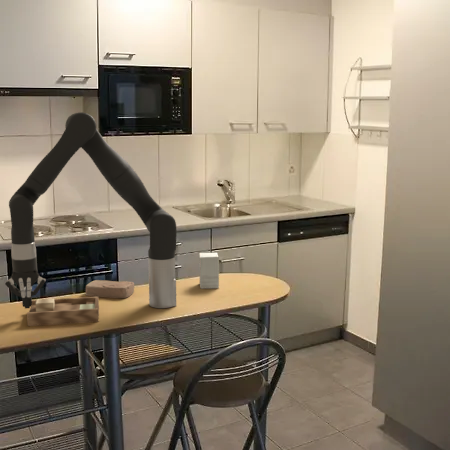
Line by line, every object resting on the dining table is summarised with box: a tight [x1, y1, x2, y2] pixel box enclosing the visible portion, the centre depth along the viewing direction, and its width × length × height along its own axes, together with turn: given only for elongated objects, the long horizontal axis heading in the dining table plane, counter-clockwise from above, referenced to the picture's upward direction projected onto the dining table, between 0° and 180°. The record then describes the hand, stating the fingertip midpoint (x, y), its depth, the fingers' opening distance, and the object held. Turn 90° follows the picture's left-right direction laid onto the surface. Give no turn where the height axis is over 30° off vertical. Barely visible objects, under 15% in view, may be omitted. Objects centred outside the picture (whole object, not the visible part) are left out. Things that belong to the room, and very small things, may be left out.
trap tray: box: [26, 296, 100, 327], centre depth 202 cm, size 22×14×4 cm, turn 101°
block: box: [36, 298, 55, 312], centre depth 201 cm, size 6×4×3 cm
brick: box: [85, 279, 135, 299], centre depth 228 cm, size 17×8×5 cm, turn 77°
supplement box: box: [198, 252, 220, 290], centre depth 238 cm, size 7×7×13 cm
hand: (27, 307), depth 200 cm, fingers closed
